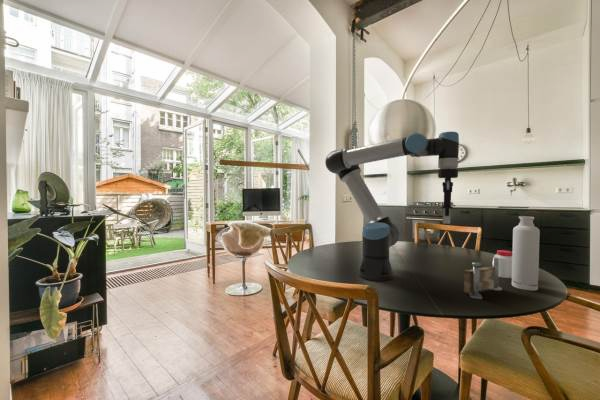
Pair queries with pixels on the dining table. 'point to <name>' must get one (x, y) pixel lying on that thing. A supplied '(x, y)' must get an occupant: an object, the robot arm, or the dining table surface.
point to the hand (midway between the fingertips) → (446, 223)
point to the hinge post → (496, 274)
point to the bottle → (525, 254)
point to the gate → (484, 279)
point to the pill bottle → (504, 263)
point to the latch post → (476, 281)
